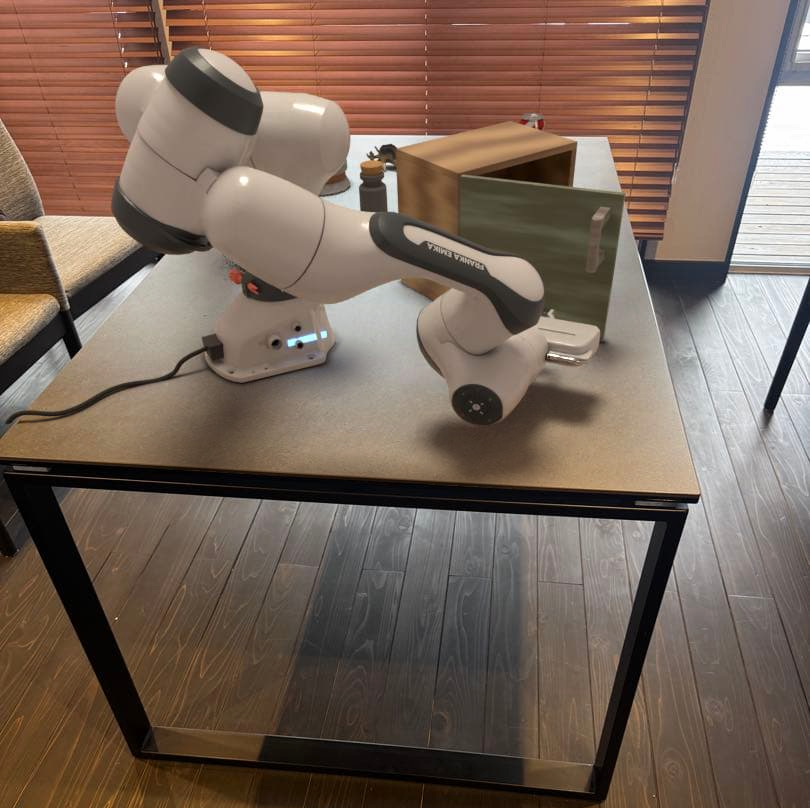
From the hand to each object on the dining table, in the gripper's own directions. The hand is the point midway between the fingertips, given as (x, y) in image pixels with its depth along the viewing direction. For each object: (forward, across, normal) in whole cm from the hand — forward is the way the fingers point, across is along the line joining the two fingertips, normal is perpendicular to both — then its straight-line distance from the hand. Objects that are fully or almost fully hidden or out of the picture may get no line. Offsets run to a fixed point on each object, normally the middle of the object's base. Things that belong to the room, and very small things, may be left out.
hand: (545, 312), depth 124 cm
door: (+8, +6, +9) cm, 13 cm away
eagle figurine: (+83, +69, +9) cm, 108 cm away
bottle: (+40, +50, +9) cm, 65 cm away
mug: (+62, +77, +9) cm, 99 cm away
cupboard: (+27, +21, +9) cm, 36 cm away
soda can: (+96, +34, +9) cm, 103 cm away
